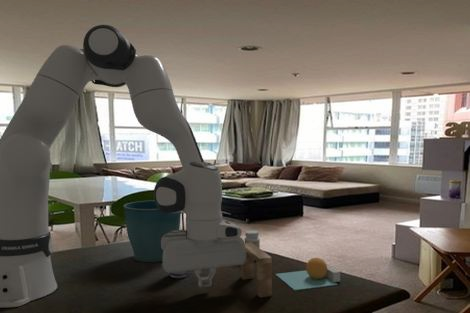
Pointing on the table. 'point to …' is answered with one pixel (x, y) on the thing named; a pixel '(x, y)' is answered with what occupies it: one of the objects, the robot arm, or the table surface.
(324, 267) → the ball
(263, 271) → the bridge
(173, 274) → the energy drink
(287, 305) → the table surface
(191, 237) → the robot arm
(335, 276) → the wall
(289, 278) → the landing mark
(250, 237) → the supplement bottle
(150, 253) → the flower pot
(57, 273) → the table surface
